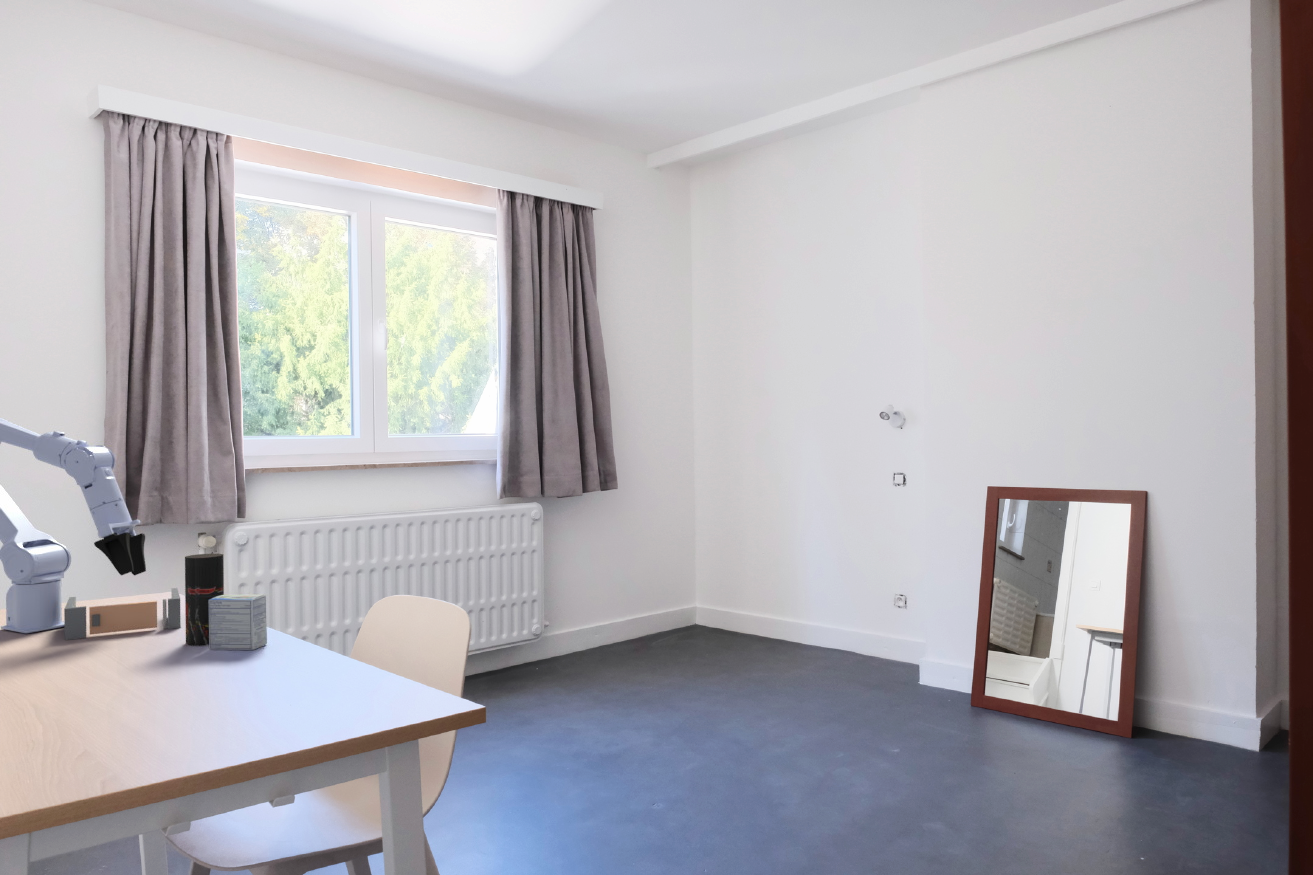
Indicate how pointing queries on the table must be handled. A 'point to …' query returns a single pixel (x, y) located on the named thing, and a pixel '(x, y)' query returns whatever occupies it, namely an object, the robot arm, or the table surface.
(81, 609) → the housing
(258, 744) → the table surface
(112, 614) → the door
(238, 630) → the medicine box
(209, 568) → the deodorant
